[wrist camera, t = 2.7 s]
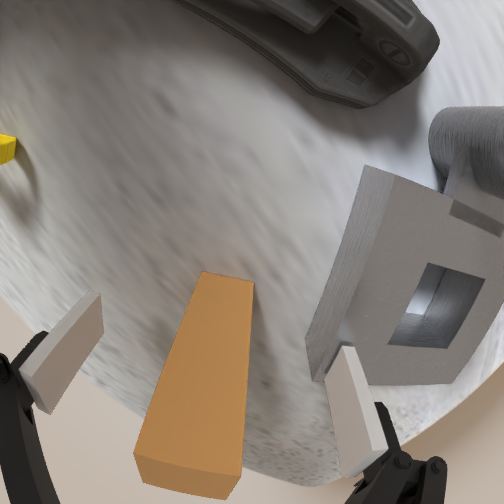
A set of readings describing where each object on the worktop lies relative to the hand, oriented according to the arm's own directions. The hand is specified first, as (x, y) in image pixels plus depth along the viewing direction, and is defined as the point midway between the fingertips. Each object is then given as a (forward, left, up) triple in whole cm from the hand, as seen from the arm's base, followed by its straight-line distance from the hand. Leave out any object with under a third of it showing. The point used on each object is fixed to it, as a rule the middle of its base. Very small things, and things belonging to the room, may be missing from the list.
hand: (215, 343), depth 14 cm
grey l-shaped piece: (-7, +12, -4) cm, 14 cm away
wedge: (0, 0, -4) cm, 4 cm away
